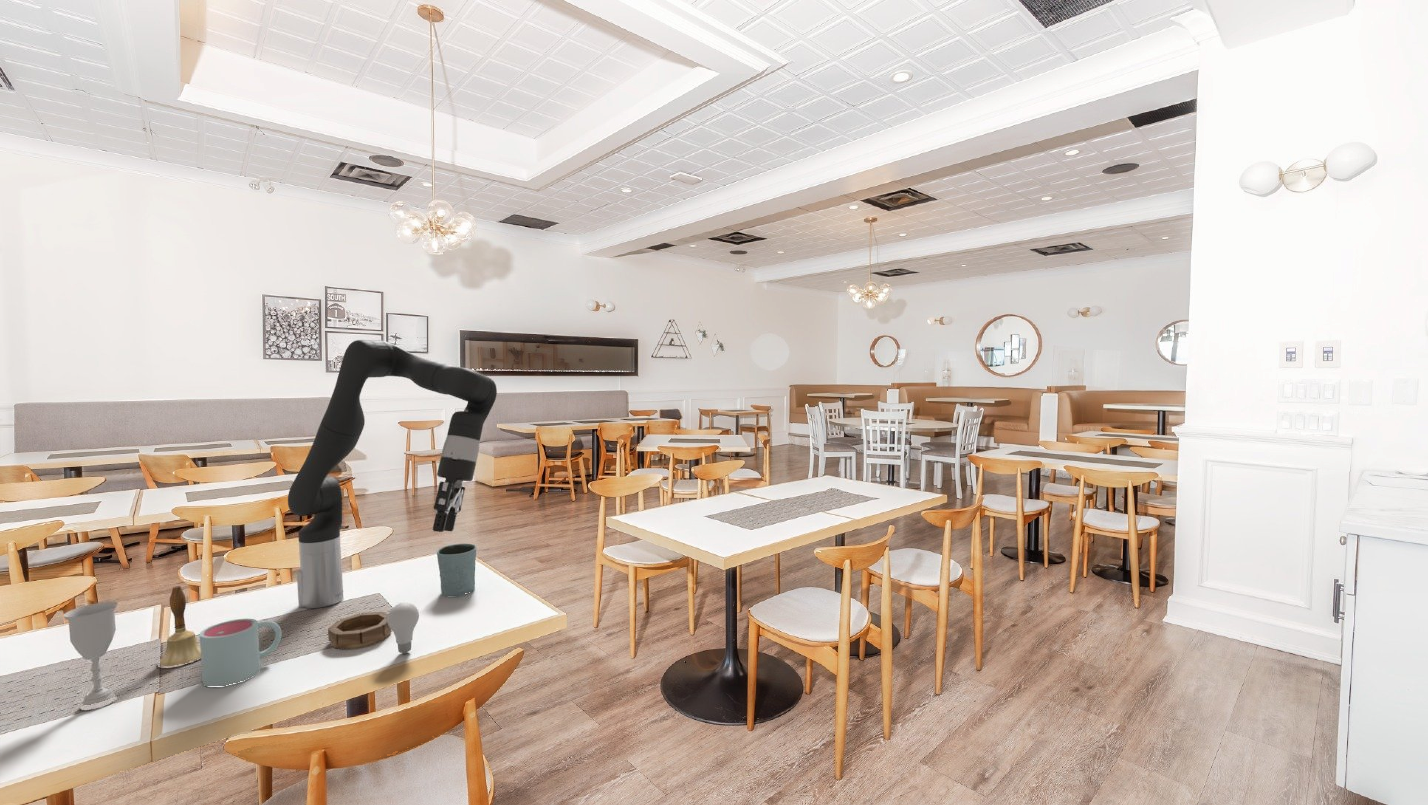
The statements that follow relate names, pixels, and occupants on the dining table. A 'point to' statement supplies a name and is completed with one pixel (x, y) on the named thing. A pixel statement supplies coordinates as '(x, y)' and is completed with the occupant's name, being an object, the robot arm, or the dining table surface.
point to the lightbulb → (403, 624)
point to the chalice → (93, 641)
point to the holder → (359, 630)
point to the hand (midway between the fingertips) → (442, 531)
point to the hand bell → (180, 635)
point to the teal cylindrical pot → (457, 569)
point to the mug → (233, 650)
